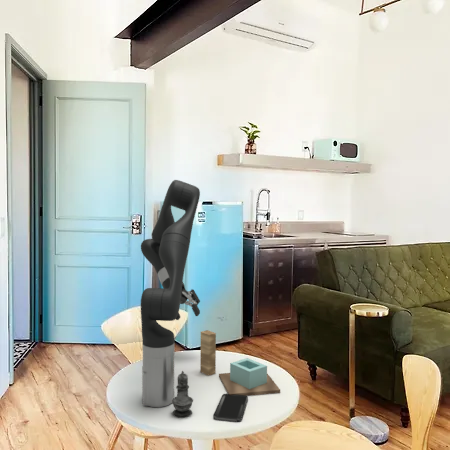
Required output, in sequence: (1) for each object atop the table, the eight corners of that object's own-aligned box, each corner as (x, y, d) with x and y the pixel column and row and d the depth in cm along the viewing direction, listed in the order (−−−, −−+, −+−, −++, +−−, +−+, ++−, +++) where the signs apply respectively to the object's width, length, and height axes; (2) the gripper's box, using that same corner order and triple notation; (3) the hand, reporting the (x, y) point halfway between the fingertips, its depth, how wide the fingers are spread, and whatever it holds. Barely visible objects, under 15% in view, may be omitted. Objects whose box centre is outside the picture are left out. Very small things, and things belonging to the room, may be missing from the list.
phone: (212, 417, 122) (223, 393, 136) (212, 421, 122) (223, 396, 136) (241, 420, 120) (248, 395, 135) (241, 424, 120) (248, 399, 135)
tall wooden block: (208, 375, 151) (208, 334, 151) (200, 371, 155) (200, 331, 154) (215, 373, 153) (215, 333, 152) (207, 369, 157) (207, 330, 156)
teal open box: (249, 389, 139) (249, 371, 138) (230, 379, 146) (230, 363, 145) (266, 382, 144) (267, 365, 143) (247, 374, 151) (247, 358, 150)
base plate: (229, 397, 135) (229, 394, 135) (218, 376, 151) (218, 373, 151) (280, 392, 139) (280, 389, 139) (264, 373, 154) (264, 370, 154)
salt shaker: (168, 416, 123) (168, 373, 123) (176, 406, 129) (177, 365, 128) (188, 419, 122) (188, 376, 121) (196, 409, 127) (196, 368, 126)
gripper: (158, 276, 163) (176, 314, 155) (190, 272, 172) (208, 308, 164) (150, 288, 167) (167, 326, 159) (182, 284, 177) (199, 319, 168)
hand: (188, 316), depth 162 cm, fingers open, 8 cm apart
